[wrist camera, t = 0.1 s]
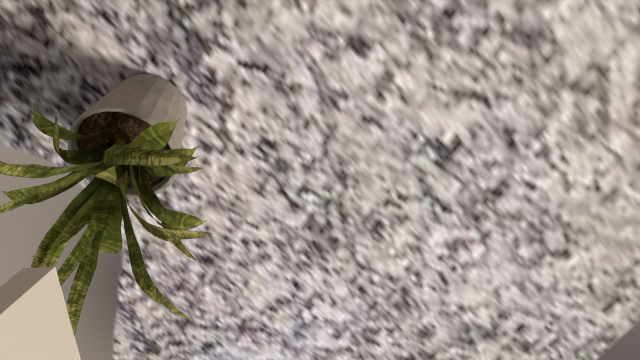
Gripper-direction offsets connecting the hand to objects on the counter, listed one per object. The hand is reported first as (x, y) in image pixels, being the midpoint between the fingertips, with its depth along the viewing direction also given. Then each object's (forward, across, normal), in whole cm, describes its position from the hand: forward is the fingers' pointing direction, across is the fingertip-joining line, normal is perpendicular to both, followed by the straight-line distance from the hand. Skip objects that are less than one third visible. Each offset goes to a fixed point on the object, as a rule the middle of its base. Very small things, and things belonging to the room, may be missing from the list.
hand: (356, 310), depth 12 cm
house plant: (+30, -16, -2) cm, 34 cm away
